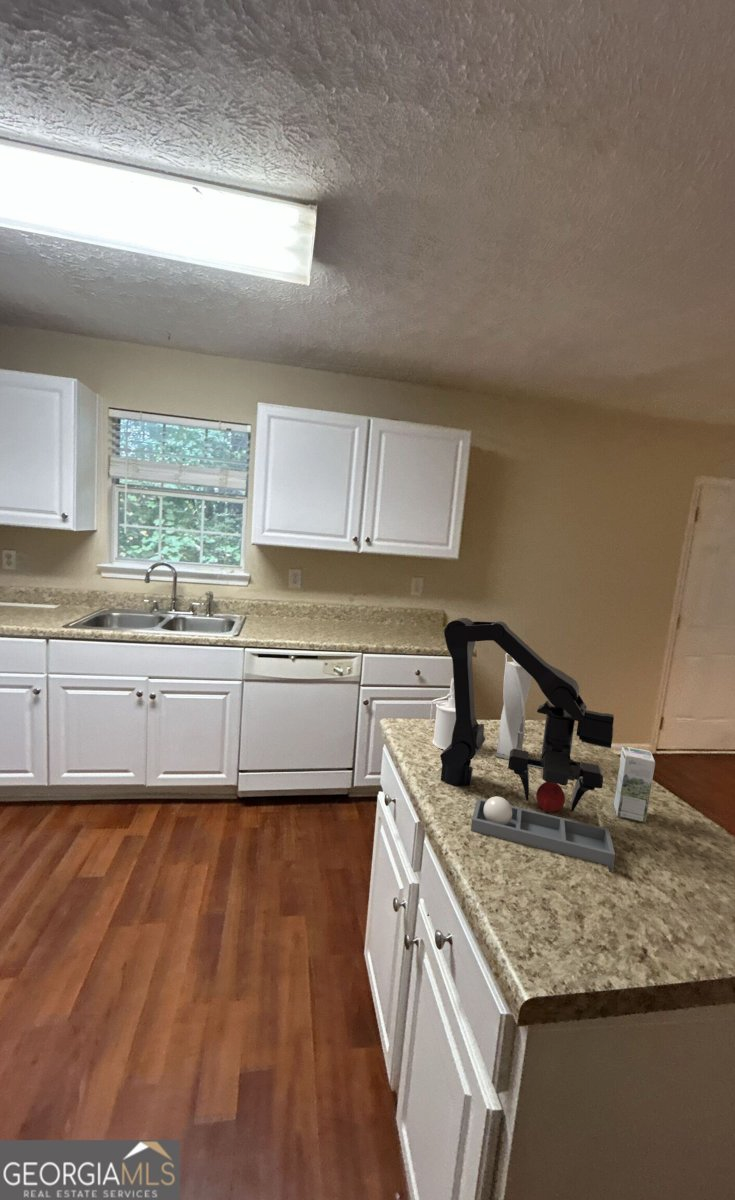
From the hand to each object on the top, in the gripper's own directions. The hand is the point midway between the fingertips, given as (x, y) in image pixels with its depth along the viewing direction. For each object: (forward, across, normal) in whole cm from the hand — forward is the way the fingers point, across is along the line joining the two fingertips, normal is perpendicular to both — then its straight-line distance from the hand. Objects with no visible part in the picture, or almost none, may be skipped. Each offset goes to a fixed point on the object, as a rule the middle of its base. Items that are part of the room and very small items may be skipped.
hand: (549, 804), depth 109 cm
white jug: (+2, -27, +26) cm, 37 cm away
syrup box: (+2, +17, +8) cm, 19 cm away
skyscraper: (+2, -10, +28) cm, 30 cm away
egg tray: (+2, -2, -12) cm, 12 cm away
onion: (+2, 0, 0) cm, 2 cm away
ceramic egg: (+1, -10, -12) cm, 16 cm away
